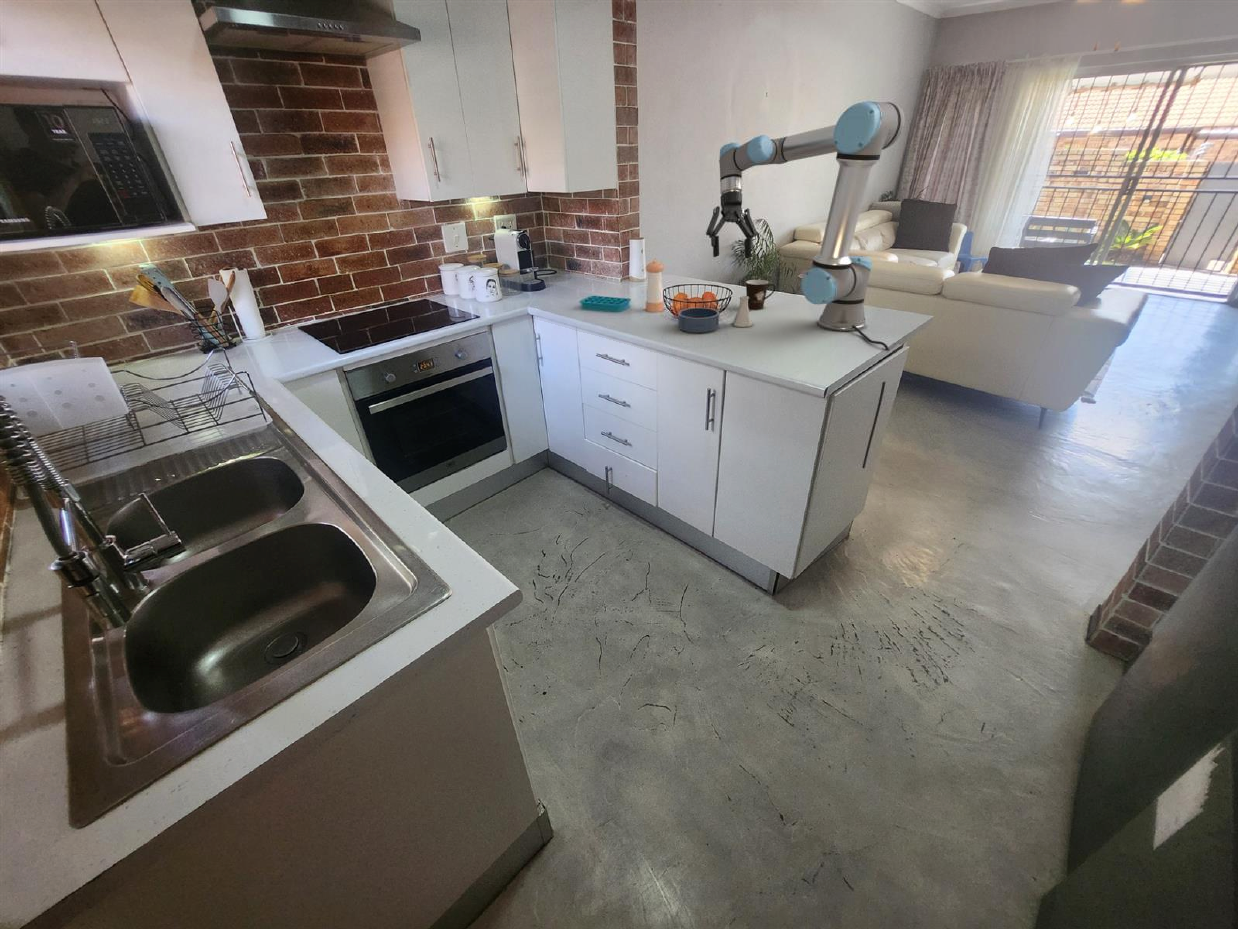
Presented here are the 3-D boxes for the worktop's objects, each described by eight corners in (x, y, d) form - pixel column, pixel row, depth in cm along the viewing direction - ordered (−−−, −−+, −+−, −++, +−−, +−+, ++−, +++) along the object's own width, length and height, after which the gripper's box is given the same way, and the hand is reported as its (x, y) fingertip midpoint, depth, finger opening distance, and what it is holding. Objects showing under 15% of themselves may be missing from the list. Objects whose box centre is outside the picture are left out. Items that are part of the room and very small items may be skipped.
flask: (752, 327, 182) (755, 299, 177) (732, 327, 184) (734, 299, 178) (752, 321, 188) (754, 294, 183) (732, 321, 190) (734, 294, 184)
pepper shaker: (656, 306, 213) (656, 258, 203) (667, 309, 208) (667, 260, 198) (642, 309, 210) (641, 260, 200) (652, 313, 205) (652, 263, 195)
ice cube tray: (592, 302, 224) (591, 295, 223) (632, 305, 216) (632, 298, 214) (578, 308, 216) (577, 301, 214) (619, 312, 207) (619, 305, 206)
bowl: (725, 330, 181) (726, 314, 178) (689, 336, 177) (689, 320, 174) (706, 320, 193) (707, 305, 190) (671, 325, 189) (671, 310, 186)
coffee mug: (743, 310, 202) (745, 284, 197) (744, 304, 209) (746, 279, 204) (773, 310, 200) (776, 284, 194) (773, 305, 207) (776, 279, 201)
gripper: (753, 199, 187) (754, 260, 190) (695, 194, 178) (697, 258, 182) (766, 192, 180) (767, 255, 184) (706, 187, 171) (708, 253, 175)
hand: (732, 256), depth 183 cm, fingers open, 13 cm apart
